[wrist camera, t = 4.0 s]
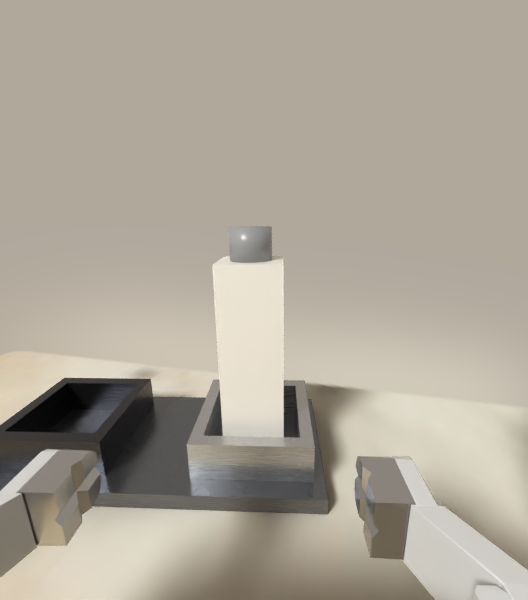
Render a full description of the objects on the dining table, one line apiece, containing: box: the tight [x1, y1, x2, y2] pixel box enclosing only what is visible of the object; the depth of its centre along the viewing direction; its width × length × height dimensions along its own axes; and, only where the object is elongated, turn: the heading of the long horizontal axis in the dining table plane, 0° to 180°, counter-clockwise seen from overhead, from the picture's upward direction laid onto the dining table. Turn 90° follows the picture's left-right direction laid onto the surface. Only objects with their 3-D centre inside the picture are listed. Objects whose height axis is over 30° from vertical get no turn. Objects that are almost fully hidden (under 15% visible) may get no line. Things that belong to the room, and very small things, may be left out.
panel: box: [0, 378, 328, 514], centre depth 22 cm, size 22×10×4 cm, turn 87°
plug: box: [212, 226, 284, 437], centre depth 20 cm, size 4×4×15 cm
